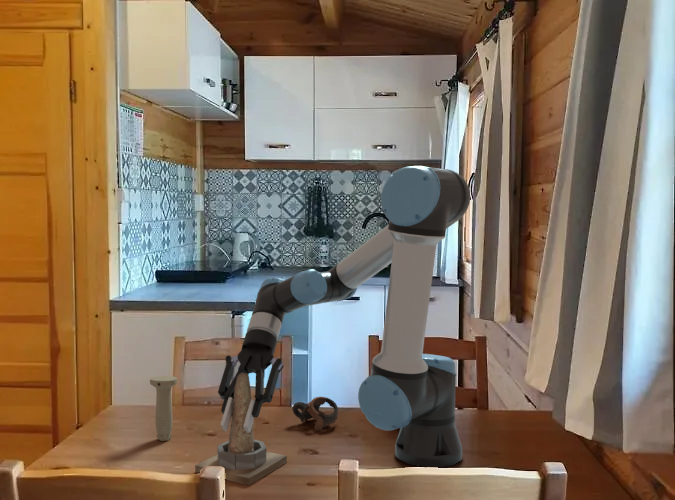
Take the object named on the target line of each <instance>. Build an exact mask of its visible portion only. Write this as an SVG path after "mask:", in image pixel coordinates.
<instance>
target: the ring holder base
mask: <svg viewBox="0 0 675 500" xmlns="http://www.w3.org/2000/svg"><path fill="white" fill-rule="evenodd" d="M228 443H229V439H228V440H227V441H224V442H223V443H220V444H218V445H217V454H214V455H213V456H211V457H209V458H207V459H205V460H203V461H201V462H199V463H197V464H195V466H194V467H195V469H194V471H195V473H197V474H199V473H198V472H200V470H201V469H202V468H203V467H206V466H222V467H224V468H225V473H226V479H227V480H226V481H229V482H233V483H237V484H241V485H246V486H251V485H252V484H254V483H256V482H257V481H259V480H260V479H262V478H264V477H265V476H267V475H268V474H270V473H272V472H273V471H275V470H277V469H279V468H280V467H281V466H283V465H285V464H287V463H288V462H287V461H288V460H287V458H288V457H287V455H285V454H279V453H275V452H271V451H267V446H266V444H265V442H264V441H262V440H259V439H254V452H253V453H243V454H234V453H229V452H228Z"/></svg>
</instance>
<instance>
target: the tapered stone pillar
mask: <svg viewBox="0 0 675 500" xmlns="http://www.w3.org/2000/svg"><path fill="white" fill-rule="evenodd" d="M251 389H252V388H251V382H250V377H249V375H248V374H247V373H241V374H239V375H238V376H237V381H236V385H235V392H234V408H233V413H232V417H231V420H230V425H229V426H230V428H229V430H230V431H229V434H228V440H229V443H228V452H229V453H234V454H243V453H253V452H254V440H255V438H254V423H253V424H252V428H251V431H250V433H246V431H245V429H244V427H243V426H244V422H245V419H246V415H247V412H248V408H249V404H250V401H251V399H252V393H251V392H252V391H251Z"/></svg>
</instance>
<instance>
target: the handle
mask: <svg viewBox="0 0 675 500" xmlns="http://www.w3.org/2000/svg"><path fill="white" fill-rule="evenodd" d="M176 384H178V377H176V376H172V375H171V376H170V375H157V376H156V375H155V376H152V377H150V378H149V385H151V386H153V387H154V388H155V390H156V398H155V400H156V401H155V416H154V417H155V429H156V433H157V434H156V439H157V440H158V441H160V442H166V441H169V440H171V438H172V429H173V405H172V387H174V386H175V385H176Z"/></svg>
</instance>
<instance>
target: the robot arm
mask: <svg viewBox="0 0 675 500" xmlns="http://www.w3.org/2000/svg"><path fill="white" fill-rule="evenodd" d="M381 190H382V191H381V194H380V195H381V196H380V205H381V208H382V211H383V212H384V214H385V217H386V218H387V219H388V224H387V225H386V226H384V228H382V229H380V230H379V231H378V232H377V233H376V234H374V235H373V236H372V237H370V238H369V239H368V240H366V241H365V242H364V243H363V244H362V245H360V246H359V247H358V248H356V249H355V250H354V251H352V252H351V253H350V254H349V255H347V256H346V257H344V258H343V259H342V260H341V261H339V263H337V264H335V266H333V267H332V268H330V269H329V270H327V271H321V272H319V271H317V270H316V269H313V268H311V269H307V270H304V271H300V272H298V273H296V274H294V275H292V276H291V277H288V278H287V279H283V278H280V277H273V278H272V277H268V278H266V279H264V280H263V281H262V283H261V286H260V288H259V290H258V292H257V296H256V299H255V302H254V306H253V310H252V312H251V313H252V314H251V317H250V320H249V322H248V326H247V329H246V333H245V336H244V339H243V342H242V345H241V350H240V351H239V352H238V354H237V355H233V356H231V355H226V356H225V366H224V367H225V368H224V370H223V374H222V377H221V381H220V383H219V387H218V391H217V393H218V395H219V397H220V398H221V400H223V403H222V406H221V413H222V419H221V422H220V427H221V428H222V430H223V431H224V432H228V431H229V426H230V425H231V421H232V413H233V408H234V392H235V385H236V381H237V376H238V375H239V374H241V373H247V374H248V375H249V374H253V373H254V374H255V387H254V389H255V390H254V391H255V392H254V396H253V397H254V398H251V401H250V404H249V408H248V412H247V415H246V419H245V422H244V426H243V427H244V429H245V431H246V433H250V431H251V428H252V424H253V425H254V420H255V418H259V416H260V413H261V409H262V405H264V404H265V403H268V404H270V403H271V402H272V400H273V397H274V393H275V390H276V388H277V387H276V386H277V384H278V383H277V382H278V380H279V375H280V373H281V371H282V370H283V369H284V368H285V367H284V364H283V361H282V358H279V357H278V358H275V356H274V354H275V351H276V347H277V344H278V339H279V336H280V332H281V329H282V325H283V321H284V318H285V315H287V314H289V313H292V312H294V311H297V310H299V309H301V308H304V307H309V306H314V305H320V304H325V303H332V302H342V301H345V300H347V299H350V298H352V297H353V296H354V295H355V294H356V292H357V290H358V287H360V286H361V285H363V284H364V283H366V282H367V281H368V280H369V279H371V278H372V277H374V276H375V275H377V274H378V273H379V272H380V271H382V270H383V269H385V268H387V266H390V264H391V266H390V272H389V281H388V288H387V289H388V291H387V299H386V308H385V313H384V314H385V316H384V317H385V318H384V321H383V324H384V325H383V330H382V331H383V333H382V341H381V349H380V352H379V353H378V354H376V355H375V356H374V357H373V358H372V362H371V363H372V364H371V370H370V375H369V376H367V377H366V378H365V379H364V380H363V381H362V382H361V384H360V386H359V388H358V392H357V393H358V394H357V398H358V404H359V408H360V410H361V413H363V414H364V416H365V418H366V420H367V421H368V422H369V423H370V424H371V425H372V426H374V427H375V428H377V429H379V430H381V431H388V432H389V431H394V430H397V429H399V432H398V434H397V438H396V440H395V445H394V455H395V457H396V458H397V459H398V460H399V461H400V460H401V462H402V461H403V462H402V463H404V462H406V463H405V464H407V463H408V464H407V465H410V464H412V465H411V466H414V465H419V466H423V467H422V468H427V467H440V468H445V467H444V466H447V467H451V466H455V465H457V464H459V463H460V462H461V461H462V459H463V446H462V443H461V439H460V437H459V433H458V429H457V427H456V386H457V385H456V382H457V381H456V380H457V379H456V378H457V373H456V363H455V361H454V360H453V359H452V358H451V357H448V356H445V355H444V356H443V355H437V354H430V353H424V345H425V335H426V330H427V329H426V328H427V321H428V314H429V305H430V298H431V297H430V296H431V290H432V282H433V275H434V268H435V267H434V266H435V258H436V251H437V245H438V244H439V243H440V242H441V241H442V240H444V239H445V238H446V235H447V234H446V233H447V229H448V228H450V227H451V226H452V225H454V224H455V223H457V222H458V221H459V220H460V219H462V217H463V216H464V215H465V214H467V213H466V212H468V209H469V206H470V203H471V202H470V201H471V191H470V187H469V185H468V182H467V181H466V179H465V178H464V177H463V176H462V175H461V174H459V173H458V172H456V171H454V170H451V169H448V168H436V167H430V166H429V167H428V166H423V165H413V166H409V165H408V166H405V167H402V168H399V169H397V170H396V171H395V172H394V173H392V174H391V175H390V176H389V177H388V178H387V180H386V181H385V183H384V184H383V187H382V189H381ZM237 363H239V366H238V369H237V372H236V374H235V375H234V370H235V368H236V367H237ZM270 366H271V368H270V371H269V375H268V377H267V383H266V386H265V384H264V383H265V381H264V380H265V374H266V373H265V371H266V370H267V368H269V367H270ZM233 375H234V377H233ZM264 386H265V387H264ZM264 388H265V390H264ZM459 461H460V462H459ZM458 462H459V463H458ZM456 463H457V464H456ZM419 466H418V467H419Z"/></svg>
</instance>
